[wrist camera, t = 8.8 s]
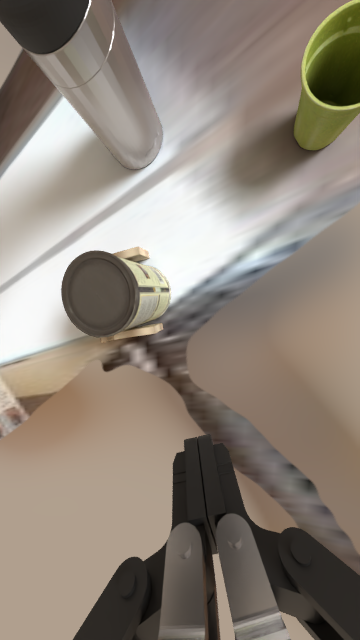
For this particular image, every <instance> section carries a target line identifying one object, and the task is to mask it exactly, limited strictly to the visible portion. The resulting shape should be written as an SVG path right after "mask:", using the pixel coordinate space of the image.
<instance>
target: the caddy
mask: <svg viewBox="0 0 360 640" xmlns="http://www.w3.org/2000/svg"><path fill="white" fill-rule="evenodd" d="M113 255H115V256H117V257H120V258H123V259H127V260H129V261H133V262H137V261H141V260H145V259H149V253H148V251H146V250H144V249H142V248H140V247H135V248H132V249H128V250H124V251H121V252H117V253H114V254H113ZM161 330H163V325H162V323H158V324H152V325H146V326H140V327H134V328H129V329H126V330H124V331H121V332H120V333H118V334H116V335H113V336H110V337H103V338H101V337H100V338H101V343H106V342H109V341H112V340H114V339H121V338H128V337H135V336H141V335H148V334H155V333H157V332H159V331H161Z"/></svg>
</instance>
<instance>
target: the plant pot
mask: <svg viewBox="0 0 360 640" xmlns="http://www.w3.org/2000/svg"><path fill="white" fill-rule="evenodd" d="M301 82H302V92H301V97H300V101H299V106H298V111H297V116H296V120H295V125H294V137H295V139H296V140H297V142H298V144H299V146H300V147H302V148H304V149H307V150H319V149H322V148H324V147H325V146H327V145H329V144H330V143H331V142H333V141H334V140H335V139H336V138H337V137H338V136H339V135H340V134H341V133H342V131H343V130H344V129H345V128H346V127H347V126H348V125H349V124H350V123H351V122H352V121H353V119H354V118H355V117H356V116H357V115H358V114H359V113H360V0H353V1H350V2H348V3H346V4H345V5H343V6H341V7H340V8H338V9H337V10H336V11H334V12H333V13H332V14H330V15H329V16H328V17H327V18H326V19H325V20H324V21H323V22H322V23H321V24H320V26H319V27H318V28H317V29H316V31H315V32H314V34H313V35H312V37H311V39H310V41H309V42H308V45H307V47H306V50H305V52H304V56H303V59H302V64H301Z"/></svg>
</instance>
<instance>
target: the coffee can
mask: <svg viewBox="0 0 360 640" xmlns="http://www.w3.org/2000/svg"><path fill="white" fill-rule="evenodd" d="M61 292H62V301H63V305H64V308H65V311H66V313H67V315H68V317H69V318H70V320H71V321H72V323H73V324H74V325H75V326H76V327H77V328H78V329H80V330H81V331H82V332H84V333H86V334H88V335H90V336H94V337H101V338H103V337H110V336H113V335H116V334H118V333H120V332H121V331H124V330H126V329H129V328H132V327H134V326H137V325H140V324H142V323H145V322H148V321H151V320H154V319H157V318H158V317H160V316H161V315H162V314H163V313H164V312H165V311H166V310H167V308H168V306H169V304H170V299H171V289H170V285H169V282H168V280H167V279H166V277H165V276H164V275H163V274H162V273H161V272H160V271H159V270H157V269H156V268H154V267H150V266H146V265H142V264H139V263H136V262H133V261H129V260H127V259H123V258H120V257H117V256H115V255H113V254H110V253H108V252H104V251H89V252H86V253H83V254H81V255H80V256H78V257H77V258H76V259H74V260H73V261H72V262H71V264H70V265H69V266H68V268H67V270H66V272H65V274H64V277H63V281H62V289H61Z"/></svg>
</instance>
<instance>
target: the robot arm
mask: <svg viewBox="0 0 360 640" xmlns="http://www.w3.org/2000/svg"><path fill="white" fill-rule="evenodd" d="M0 22H1V23H2V24H3V25H4V27H5V28H6V29H7V30H8V31H9V32H10V34H11V35H12V36H13V37H14V38H15V39H16V41H17V42H18V43H19V44H20V45H21V46H22V48H23V49H24V50H25V51H26V52H27V54H28V55H29V56H30V57H31V58H32V60H33V61H34V62H35V63H36V64H37V65H38V67H39V68H40V69H41V70H42V71H43V73H44V74H45V75H46V76H47V77H48V78H49V79H50V81H51V82H52V83H53V84H54V85H55V87H56V88H57V89H58V90H59V91H60V92H61V94H62V95H63V96H64V97H65V98H66V100H67V101H68V102H69V103H70V104H71V105H72V107H73V108H74V109H75V110H76V111H77V113H78V114H79V115H80V116H81V117H82V119H83V120H84V121H85V122H86V123H87V124H88V126H89V127H90V128H91V129H92V130H93V132H94V133H95V134H96V135H97V136H98V137H99V139H100V140H101V141H102V142H103V143H104V145H105V146H106V147H107V148H108V149H109V151H110V152H111V153H112V154H113V155H114V157H115V158H116V159H117V160H118V161H119V162H120V163H121V164H122V165H123V166H124V167H126V168H129V169H141V168H143V167H145V166H147V165H148V164H150V163H151V162H152V161H153V160H154V159H155V157H156V156H157V154H158V152H159V150H160V148H161V144H162V139H163V131H162V125H161V123H160V120H159V117H158V115H157V112H156V110H155V107H154V105H153V103H152V100H151V97H150V95H149V92H148V90H147V87H146V85H145V82H144V80H143V77H142V75H141V73H140V70H139V68H138V65H137V63H136V60H135V58H134V55H133V53H132V50H131V48H130V45H129V43H128V40H127V38H126V35H125V33H124V31H123V28H122V26H121V23H120V21H119V18H118V16H117V13H116V11H115V8H114V6H113V3H112V1H111V0H0ZM184 448H185V451H183V452H180V453H177V454H176V456H175V459H174V462H173V509H172V511H173V512H172V529H171V533H170V535H169V538H168V540H167V542H166V543H165V545H164V546H163V547H162V548H161V549H160V550H159V551H158V552H156V553H155V554H153V555H152V556H151V557H149V558H148V559H146V560H145V561H142V560H141V559H140V558H138V557H131V558H128V559H127V560H125V561H124V562H123V563H122V564H121V565H120V566H119V568H118V569H117V570H116V572H115V574H114V575H113V577H112V578H111V580H110V581H109V583H108V585H107V586H106V588H105V589H104V591H103V593H102V594H101V596H100V597H99V599H98V601H97V602H96V604H95V605H94V607H93V608H92V610H91V612H90V613H89V615H88V616H87V618H86V620H85V621H84V623H83V625H82V626H81V627H80V629H79V631H78V632H77V634H76V635H75V637H74V639H73V640H220V629H219V616H218V603H217V591H216V581H215V573H214V565H213V557H212V555H213V554H217V553H219V558H220V562H221V567H222V572H223V577H224V582H225V587H226V592H227V597H228V601H229V607H230V611H231V617H232V622H233V627H234V632H235V640H291V639H290V637H289V634H288V631H287V629H286V626H285V624H284V622H283V620H282V617H281V615H280V612H279V611H281V612H283V613H286V614H289V615H291V616H294V617H296V618H297V619H298V621H299V622H300V623H301V624H302V625H303V627H304V628H305V629H306V630H307V631H308V632H309V634H310V635H311V636H312V637H313V638H314V639H315V640H360V576H359V575H358V574H357V573H356V572H355V571H353V570H352V569H351V568H350V567H348V566H347V565H346V564H345V563H344V562H342V561H341V560H340V559H339V558H337V557H336V556H335V555H334V554H333V553H331V552H330V551H329V550H328V549H326V548H325V547H324V546H323V545H322V544H320V543H319V542H318V541H317V540H315V539H314V538H313V537H312V536H311V535H309V534H308V533H307V532H305V531H303V530H301V529H299V528H295V527H290V528H287V529H285V530H284V531H283V532H282V533H277V532H272V531H268V530H265V529H262V528H260V527H259V526H257V525H256V524H255V523H254V522H253V521H252V520H251V519H250V518H249V516H248V515H247V512H246V510H245V507H244V504H243V501H242V497H241V493H240V490H239V486H238V483H237V479H236V476H235V472H234V469H233V465H232V462H231V458H230V454H229V451H228V450H227V448H226V447H225V446H224V445H223V443H220V444H215V445H213V442H212V438H211V434H208V435H203V436H199V437H198V438H197V437H195V438H190V439H186V440H184ZM217 548H218V551H217Z"/></svg>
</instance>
